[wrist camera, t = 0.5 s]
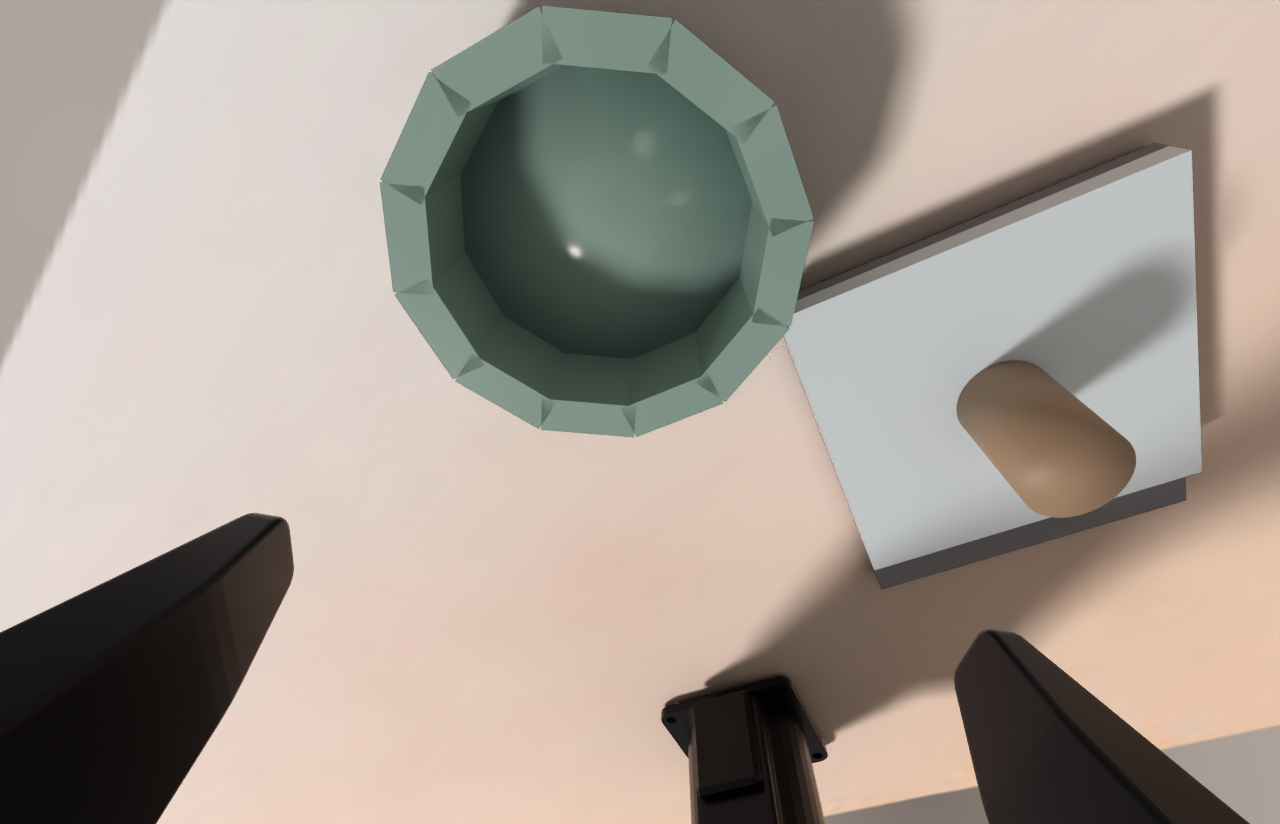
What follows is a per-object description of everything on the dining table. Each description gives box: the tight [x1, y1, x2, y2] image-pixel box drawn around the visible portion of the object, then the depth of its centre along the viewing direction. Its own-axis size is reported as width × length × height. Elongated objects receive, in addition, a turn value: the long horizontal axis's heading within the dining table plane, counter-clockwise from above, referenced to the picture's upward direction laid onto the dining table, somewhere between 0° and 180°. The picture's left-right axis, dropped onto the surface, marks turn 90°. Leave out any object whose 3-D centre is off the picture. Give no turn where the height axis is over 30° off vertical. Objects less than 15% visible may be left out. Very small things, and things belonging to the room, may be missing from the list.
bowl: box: [380, 5, 814, 437], centre depth 17 cm, size 10×10×4 cm
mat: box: [783, 143, 1186, 590], centre depth 21 cm, size 13×11×1 cm
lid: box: [784, 146, 1202, 570], centre depth 18 cm, size 11×11×5 cm
